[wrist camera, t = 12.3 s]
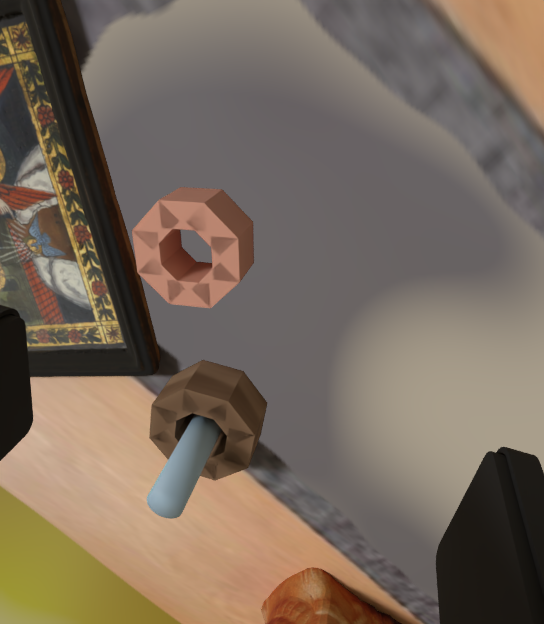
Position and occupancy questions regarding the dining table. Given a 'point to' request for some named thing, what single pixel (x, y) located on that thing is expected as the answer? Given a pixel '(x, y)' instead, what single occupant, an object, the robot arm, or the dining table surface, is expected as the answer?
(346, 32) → the dining table surface
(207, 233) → the pink octagonal nut
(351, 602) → the ceramic vessel
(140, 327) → the religious icon
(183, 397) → the bead
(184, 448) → the dowel
